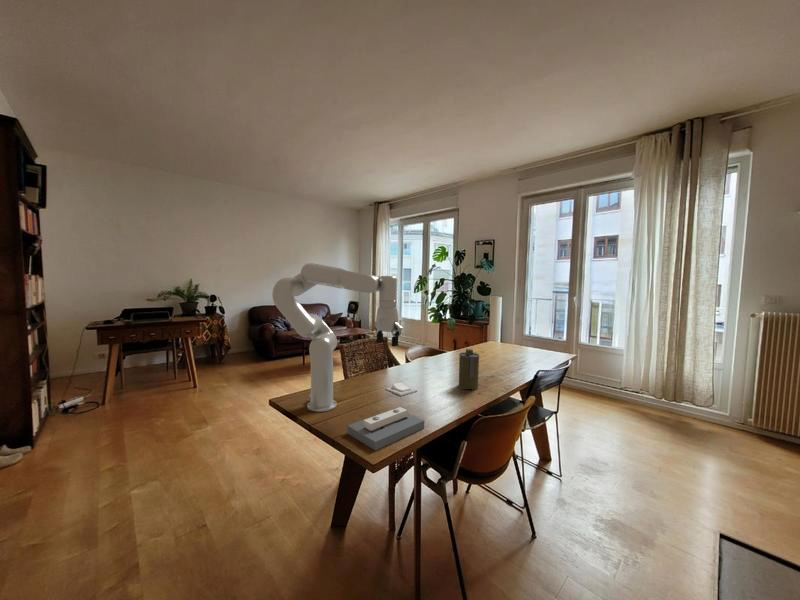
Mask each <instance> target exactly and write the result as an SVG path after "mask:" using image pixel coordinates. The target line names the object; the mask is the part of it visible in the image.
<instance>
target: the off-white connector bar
mask: <svg viewBox="0 0 800 600" xmlns="http://www.w3.org/2000/svg"><path fill="white" fill-rule="evenodd" d="M395 408H396V407H395ZM392 409H393V410H391V409H390V410H391V411H388V410H387V411H388V412H386V411H384V412H385V413H383V412H381V413H382V414H380V413H379V414H380V415H377V414H376V415H377V416H375V415H373V416H374V417H372V416H370V417H371V418H369V417H367V418H368V419H366V418H365V419H366V420H364V419H363V420H364V427H365V428H366V429H367V430H368V431H369V432H371V433H373V432H376V431H378V430H381V427H382V426H384V425H387V424H389V423H392V422H397V423H398V422H400V421H403V420H404V417H407V413H408V409H406V408H404V407H401V406H399V407H397V408H396V409H394V408H392Z"/></svg>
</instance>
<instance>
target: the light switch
mask: <svg viewBox="0 0 800 600" xmlns="http://www.w3.org/2000/svg"><path fill="white" fill-rule="evenodd" d="M386 389H387V390H386ZM385 390H386V391H388V390H389V391H388V392H390V391H391V392H390V393H392V392H393V393H392V394H394V393H395V395H396V394H397V396H399V397H403V396H406V395H410V394H414V393H417V392H418V390H417V389H416V388H414V387H410V386H407V385H405V384H404V383H403V382H395V383H393V384H392V385H391V386H390V387H386V388H385Z"/></svg>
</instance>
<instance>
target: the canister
mask: <svg viewBox="0 0 800 600" xmlns="http://www.w3.org/2000/svg"><path fill="white" fill-rule="evenodd" d="M458 356H459V360H458V361H459V363H458V364H459V366H458V367H459V368H458V388H459V387H460V389H461V388H463V389H462V390H464V389H472V390H471V391H474V390H473V389H476V390H478V389H479V366H480V354H478V353H475V352H474V350H473V349H471V348H465V351H464V352H460V353H459V355H458ZM477 388H478V389H477Z"/></svg>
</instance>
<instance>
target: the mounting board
mask: <svg viewBox="0 0 800 600" xmlns="http://www.w3.org/2000/svg"><path fill="white" fill-rule="evenodd" d="M393 409H396V407H395V408H392V409H387V410H386V411H383V412H381V413H378V414H375V415H373V416H369V417H367V418H364V419H361V420H359V421H355V422H353V423H350V424H348V425H347V426H346V427H347V430H346V431H347V433H346V434H348V435H349V436H351V437H352V438H353V439H356V440H357V441H359V442H361V443H362V444H363V445H365V446H366V447H369V448H370V449H372V450H373V451H378V450H380V449H382V448H385V447H386V445H387V446H390V445H391V444H393V443H395V442H397V440H398V441H399V439H400V440H401V438H402V439H404V438H406V437H408V436H411V435H413V434H414V433H417V432H419V431H422V430H423V429H425V420H424V419H422V418H419V417H417V416H415V415H412V414H410V413H408V412H407V417H404V420H403V421H400V422H398V423H397V422H392V423H389V424H387V425H384V426H382V427H381V430H378V431H376V432H373V433H371V432H369V431H368V430H367V429H366V428H365V427H364V420H366V419H368V418H371V417H374V416H377V415H380V414H382V413H385V412H388V411H391V410H393ZM412 433H413V434H412ZM410 434H411V435H410ZM403 437H404V438H403Z"/></svg>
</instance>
